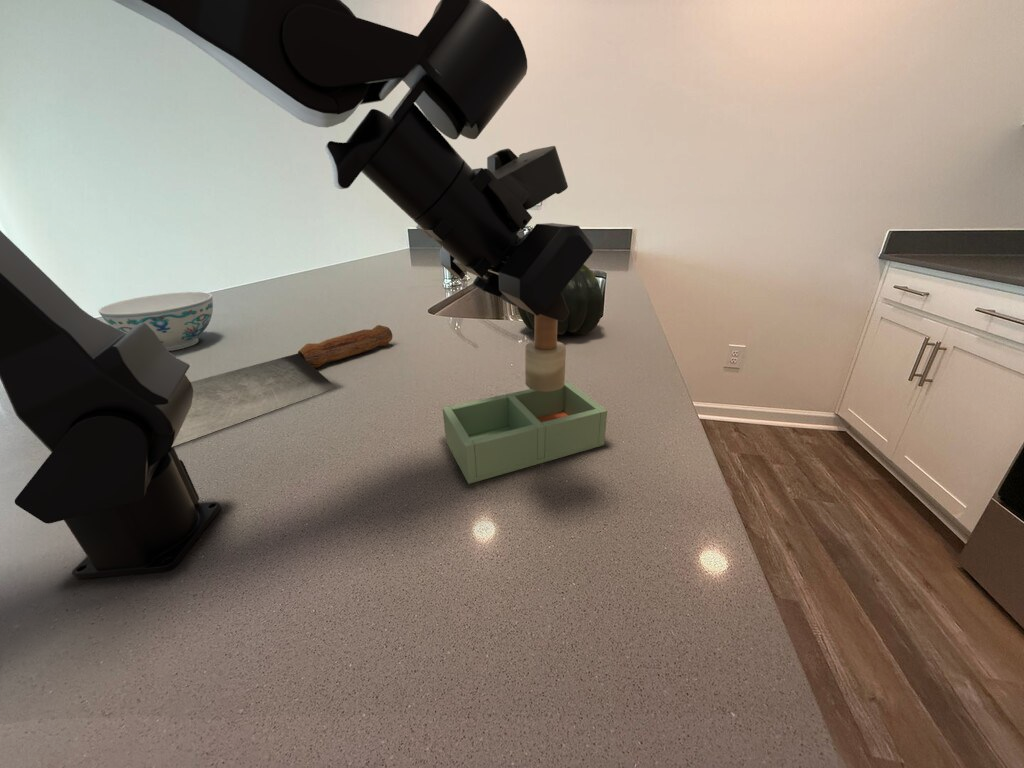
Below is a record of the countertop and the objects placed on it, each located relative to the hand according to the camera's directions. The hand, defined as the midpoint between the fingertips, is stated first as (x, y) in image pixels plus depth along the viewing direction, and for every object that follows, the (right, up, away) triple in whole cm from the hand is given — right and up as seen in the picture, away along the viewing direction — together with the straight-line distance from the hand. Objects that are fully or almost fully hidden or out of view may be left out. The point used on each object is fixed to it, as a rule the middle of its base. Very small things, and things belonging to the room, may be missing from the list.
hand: (558, 314), depth 39 cm
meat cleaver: (-34, -7, +17) cm, 38 cm away
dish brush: (-1, -7, +3) cm, 7 cm away
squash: (+4, +3, +35) cm, 36 cm away
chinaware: (-64, 0, +33) cm, 72 cm away
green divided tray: (-3, -13, +2) cm, 13 cm away
